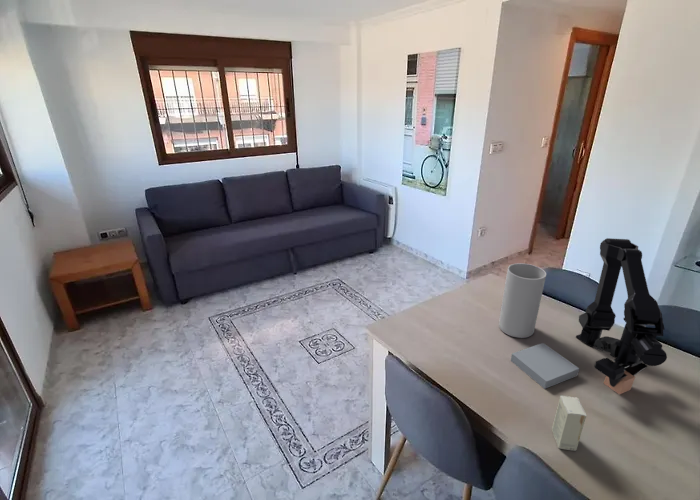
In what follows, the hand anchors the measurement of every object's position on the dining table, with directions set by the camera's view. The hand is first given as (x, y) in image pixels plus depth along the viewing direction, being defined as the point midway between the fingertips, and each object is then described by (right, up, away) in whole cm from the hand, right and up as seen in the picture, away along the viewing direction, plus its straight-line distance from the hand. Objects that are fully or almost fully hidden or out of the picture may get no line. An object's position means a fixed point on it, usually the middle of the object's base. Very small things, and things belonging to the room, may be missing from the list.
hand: (617, 383), depth 112 cm
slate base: (-19, +2, +9) cm, 21 cm away
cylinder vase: (-19, +11, +28) cm, 36 cm away
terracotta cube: (0, -1, 0) cm, 1 cm away
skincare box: (-26, -9, -16) cm, 32 cm away
